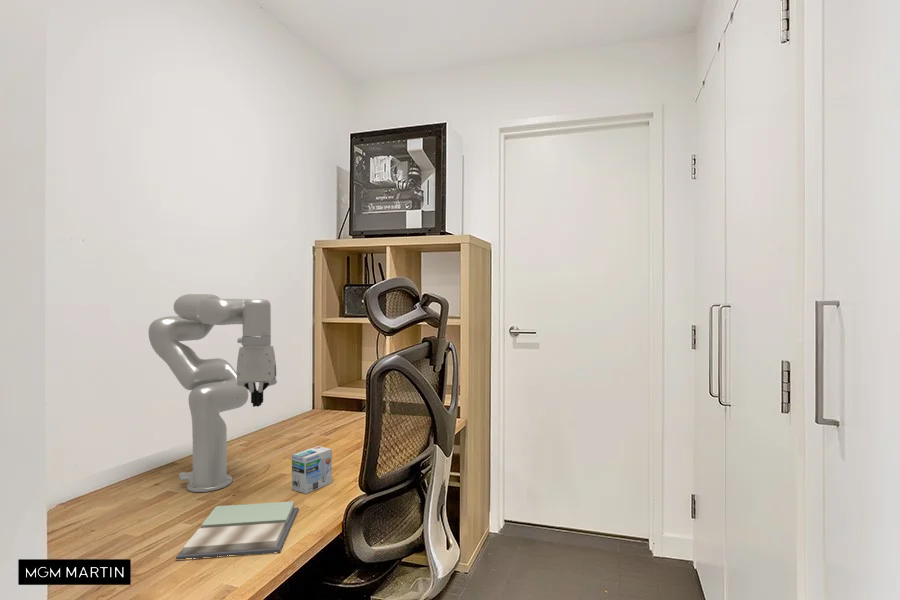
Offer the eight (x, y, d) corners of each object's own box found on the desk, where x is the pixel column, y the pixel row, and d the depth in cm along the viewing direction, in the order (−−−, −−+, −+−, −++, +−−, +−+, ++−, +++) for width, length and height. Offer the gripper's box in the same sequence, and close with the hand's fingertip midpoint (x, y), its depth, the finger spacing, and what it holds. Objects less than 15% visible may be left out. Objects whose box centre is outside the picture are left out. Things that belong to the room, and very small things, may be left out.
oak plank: (182, 554, 104) (182, 547, 104) (200, 533, 113) (200, 526, 113) (276, 547, 106) (276, 540, 106) (285, 527, 116) (285, 521, 116)
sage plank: (201, 531, 114) (201, 525, 114) (216, 511, 124) (216, 506, 124) (286, 525, 117) (286, 519, 117) (294, 506, 127) (294, 501, 127)
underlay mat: (175, 560, 103) (175, 557, 103) (213, 515, 124) (213, 512, 125) (279, 552, 106) (279, 549, 106) (298, 510, 127) (298, 507, 127)
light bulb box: (306, 494, 138) (305, 458, 138) (290, 490, 142) (290, 454, 142) (332, 482, 147) (332, 448, 147) (317, 478, 151) (317, 445, 151)
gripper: (225, 343, 130) (225, 409, 130) (280, 342, 132) (281, 407, 132) (233, 341, 138) (234, 403, 138) (286, 340, 140) (286, 402, 140)
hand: (257, 405), depth 135 cm, fingers closed
